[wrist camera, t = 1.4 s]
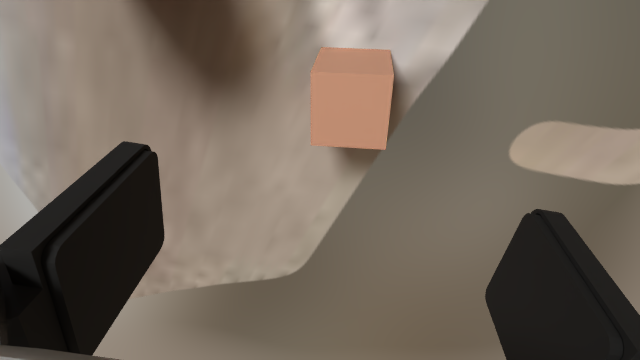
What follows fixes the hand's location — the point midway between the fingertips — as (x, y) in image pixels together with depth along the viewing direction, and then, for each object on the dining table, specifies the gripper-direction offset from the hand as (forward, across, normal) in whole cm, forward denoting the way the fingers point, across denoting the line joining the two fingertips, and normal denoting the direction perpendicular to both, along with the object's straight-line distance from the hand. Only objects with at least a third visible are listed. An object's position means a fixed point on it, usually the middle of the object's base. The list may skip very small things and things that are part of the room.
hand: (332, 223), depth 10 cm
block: (+22, -1, +3) cm, 22 cm away
